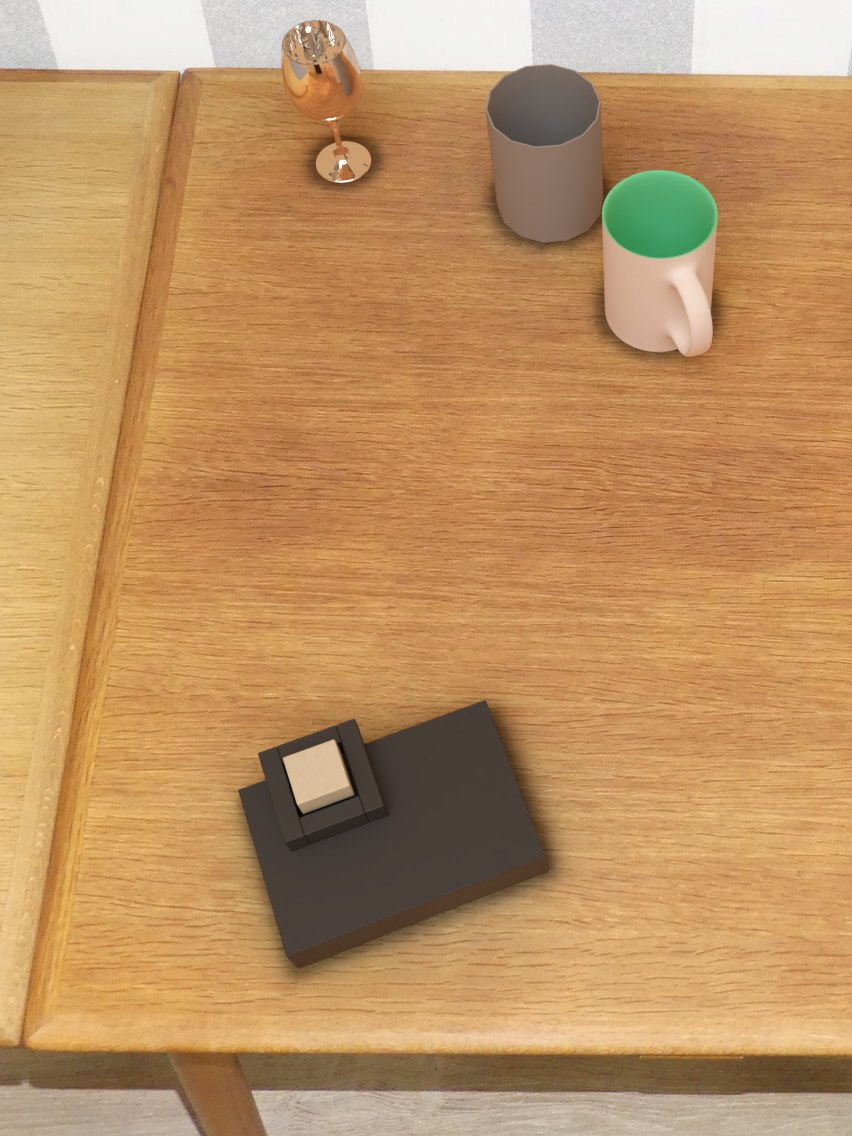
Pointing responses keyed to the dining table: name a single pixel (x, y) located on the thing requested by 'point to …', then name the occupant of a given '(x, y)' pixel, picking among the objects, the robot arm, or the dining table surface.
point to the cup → (546, 152)
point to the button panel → (391, 832)
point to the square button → (318, 776)
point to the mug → (660, 262)
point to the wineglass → (325, 91)
